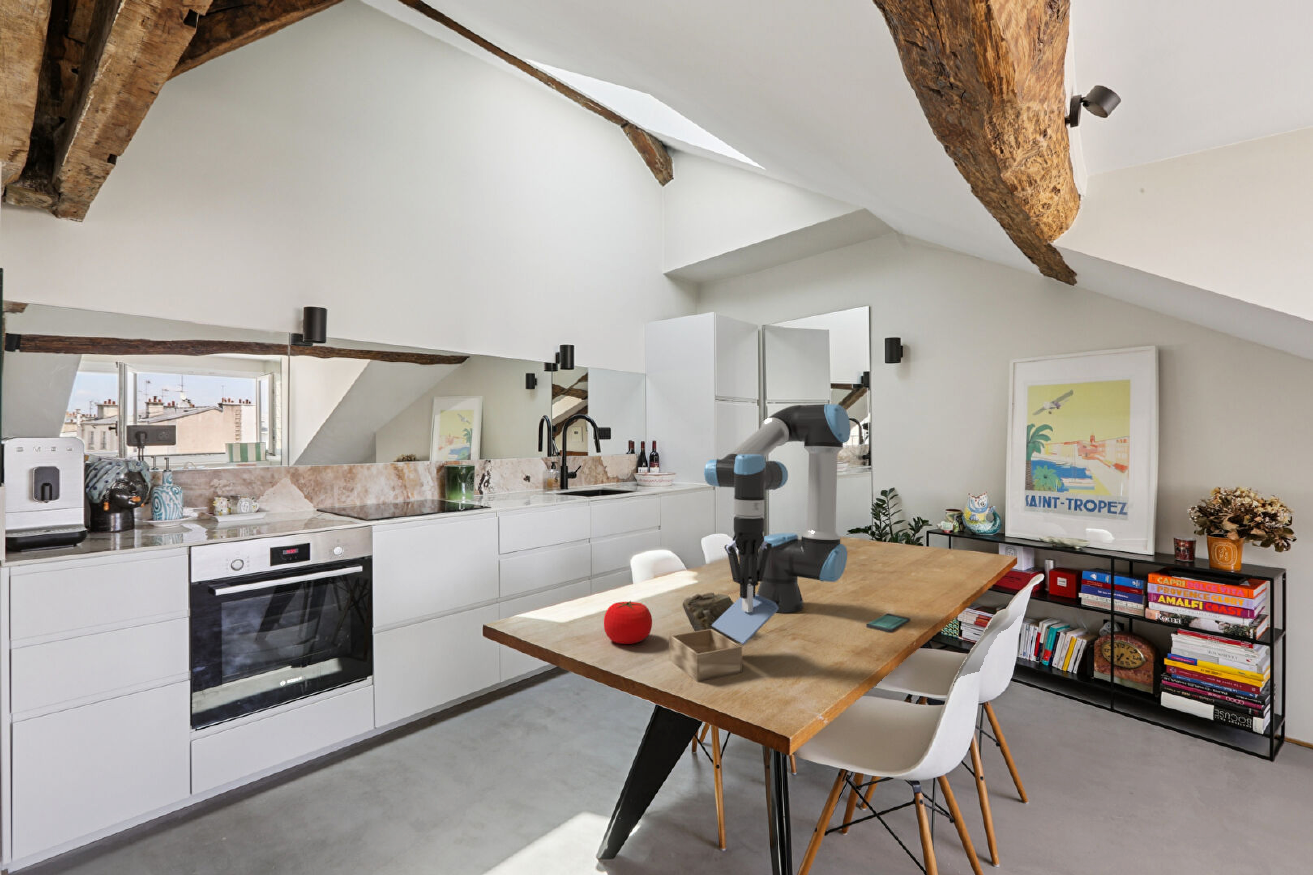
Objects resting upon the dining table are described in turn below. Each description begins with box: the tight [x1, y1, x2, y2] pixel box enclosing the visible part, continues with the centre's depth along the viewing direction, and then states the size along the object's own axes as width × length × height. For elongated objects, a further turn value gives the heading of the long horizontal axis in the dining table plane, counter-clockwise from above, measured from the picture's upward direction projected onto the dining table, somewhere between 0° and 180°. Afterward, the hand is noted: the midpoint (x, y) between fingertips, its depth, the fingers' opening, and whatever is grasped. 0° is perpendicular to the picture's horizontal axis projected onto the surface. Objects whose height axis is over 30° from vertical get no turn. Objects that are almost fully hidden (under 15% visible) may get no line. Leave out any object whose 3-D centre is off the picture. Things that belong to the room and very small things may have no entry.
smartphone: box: [865, 613, 911, 634], centre depth 176 cm, size 7×1×15 cm
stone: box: [682, 592, 735, 639], centre depth 166 cm, size 16×9×15 cm
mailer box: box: [668, 629, 743, 682], centre depth 144 cm, size 14×12×6 cm
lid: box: [711, 593, 779, 646], centre depth 149 cm, size 14×12×2 cm
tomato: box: [603, 600, 653, 645], centre depth 162 cm, size 14×13×10 cm
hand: (747, 610), depth 149 cm, fingers closed
